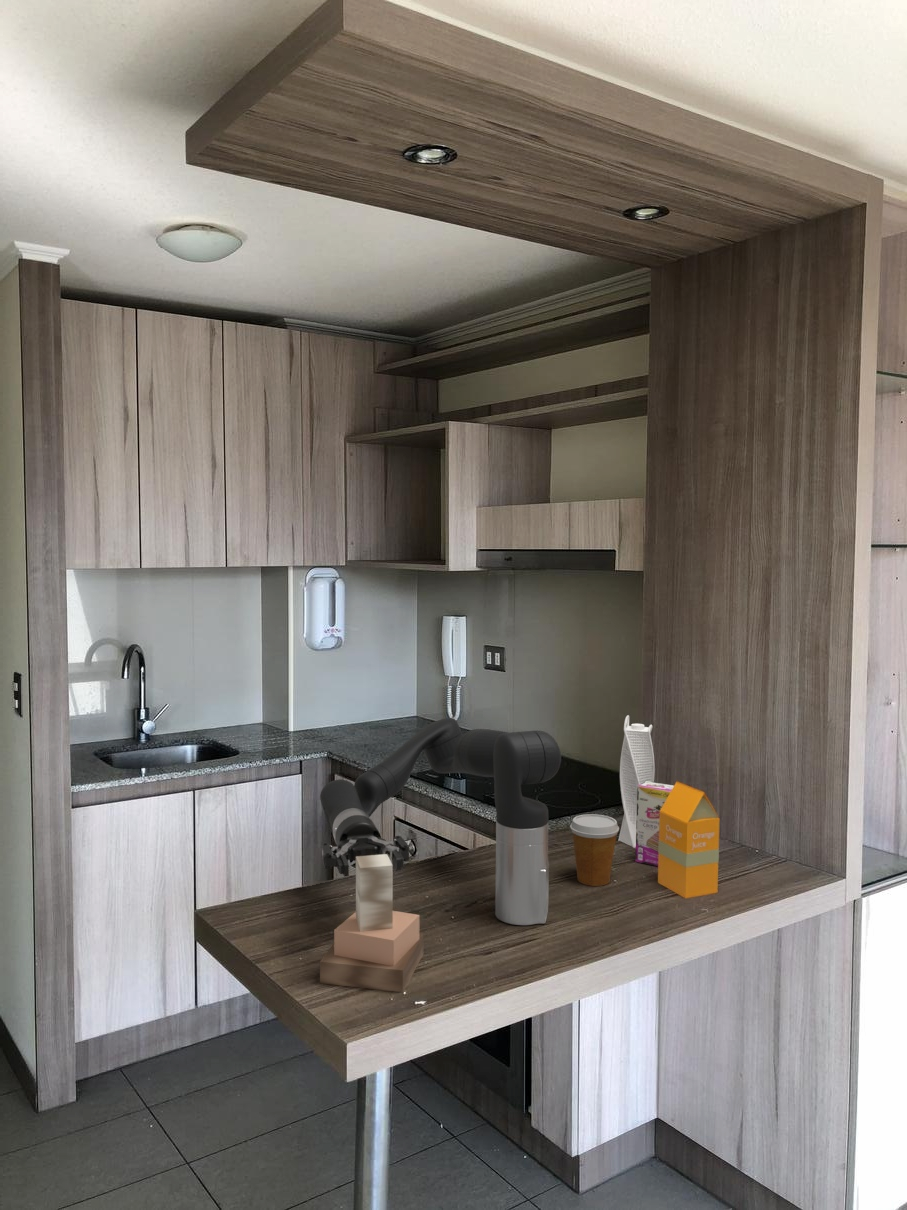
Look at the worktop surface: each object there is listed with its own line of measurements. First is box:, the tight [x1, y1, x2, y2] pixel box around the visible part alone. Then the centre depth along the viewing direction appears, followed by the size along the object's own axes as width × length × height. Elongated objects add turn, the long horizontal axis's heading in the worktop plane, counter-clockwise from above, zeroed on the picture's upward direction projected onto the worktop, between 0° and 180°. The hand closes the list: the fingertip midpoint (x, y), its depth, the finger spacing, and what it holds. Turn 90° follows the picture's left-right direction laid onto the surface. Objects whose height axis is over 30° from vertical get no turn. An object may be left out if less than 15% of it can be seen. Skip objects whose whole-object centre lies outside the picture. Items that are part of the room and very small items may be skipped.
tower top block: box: [333, 910, 421, 966], centre depth 149 cm, size 10×10×4 cm
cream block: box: [355, 854, 394, 931], centre depth 147 cm, size 5×5×10 cm
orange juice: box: [657, 780, 721, 899], centre depth 183 cm, size 8×9×20 cm
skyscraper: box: [617, 714, 656, 849], centre depth 209 cm, size 8×8×28 cm
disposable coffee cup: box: [569, 813, 620, 887], centre depth 186 cm, size 10×10×12 cm
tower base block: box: [319, 933, 425, 993], centre depth 149 cm, size 13×13×4 cm
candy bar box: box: [634, 781, 674, 867], centre depth 195 cm, size 11×5×16 cm, turn 58°
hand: (372, 867), depth 152 cm, fingers open, 8 cm apart
